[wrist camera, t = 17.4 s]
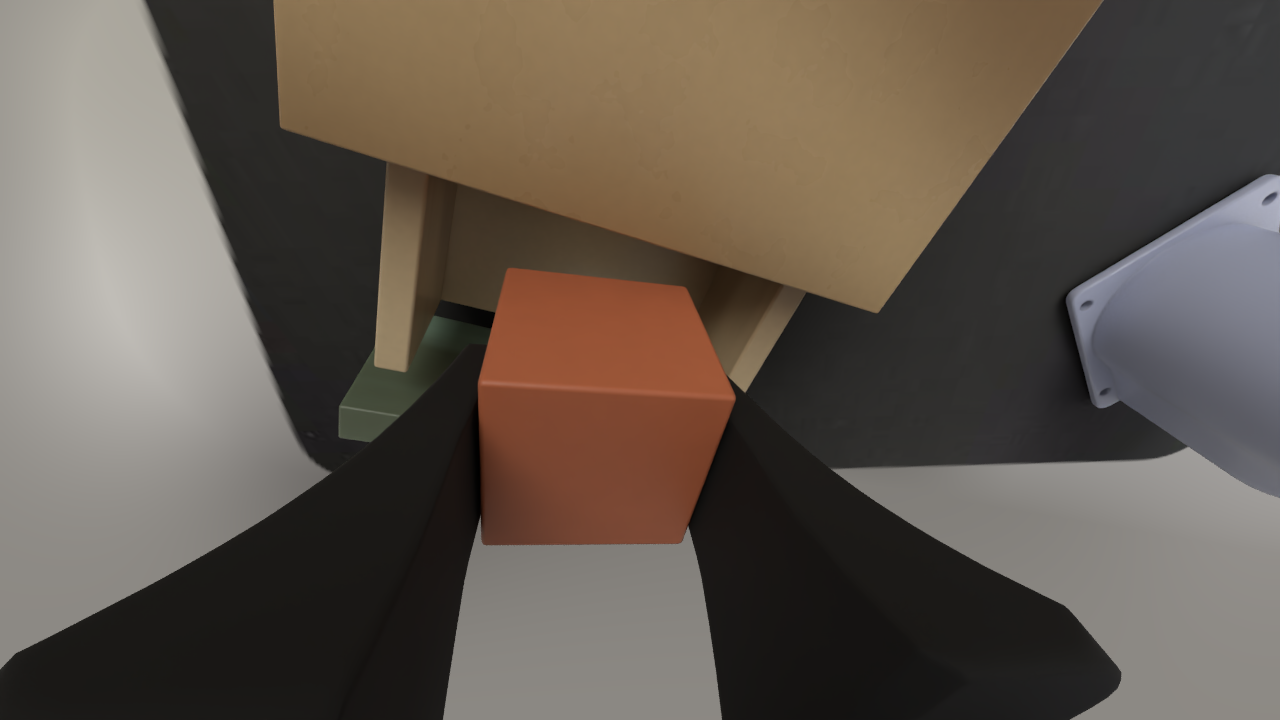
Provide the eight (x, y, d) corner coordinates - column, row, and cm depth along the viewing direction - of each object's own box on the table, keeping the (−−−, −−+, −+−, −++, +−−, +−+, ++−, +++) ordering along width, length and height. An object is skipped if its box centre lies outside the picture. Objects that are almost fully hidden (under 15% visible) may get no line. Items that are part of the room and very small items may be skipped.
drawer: (645, 461, 22) (663, 562, 18) (388, 419, 19) (336, 532, 15) (861, 42, 13) (999, 49, 9) (442, -179, 10) (346, -332, 6)
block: (654, 415, 13) (682, 545, 10) (503, 408, 12) (480, 547, 9) (687, 285, 11) (739, 397, 7) (506, 265, 10) (476, 381, 7)
